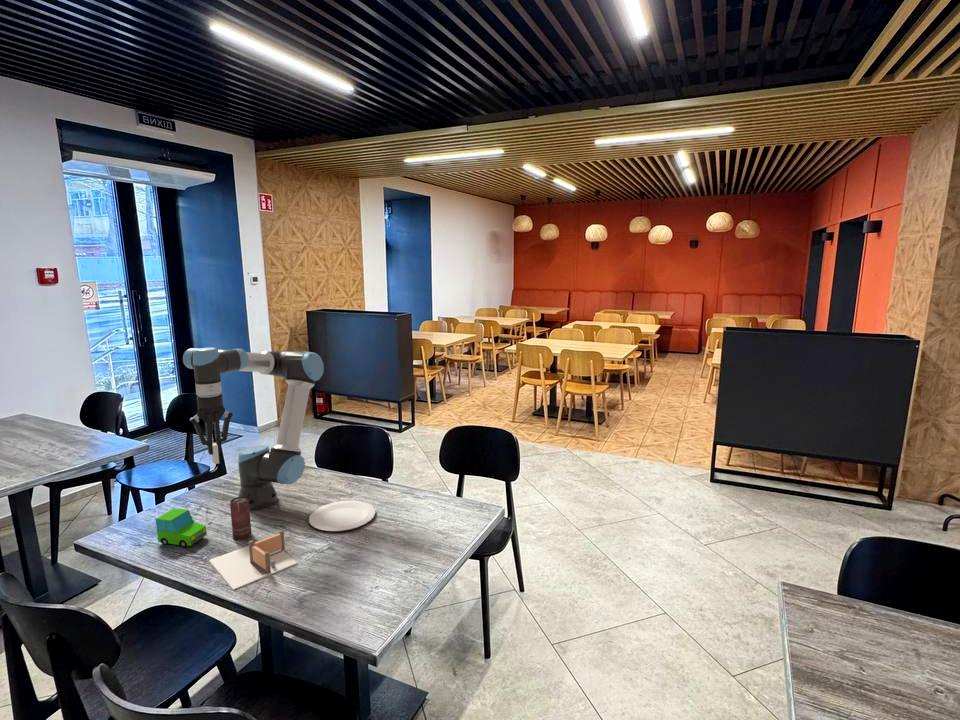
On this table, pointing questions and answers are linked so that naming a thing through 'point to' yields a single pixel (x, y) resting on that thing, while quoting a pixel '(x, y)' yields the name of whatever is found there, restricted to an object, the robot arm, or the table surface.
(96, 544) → the table surface
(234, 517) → the can
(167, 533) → the toy car
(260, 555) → the panel
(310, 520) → the plate
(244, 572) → the card
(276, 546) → the fixed panel
